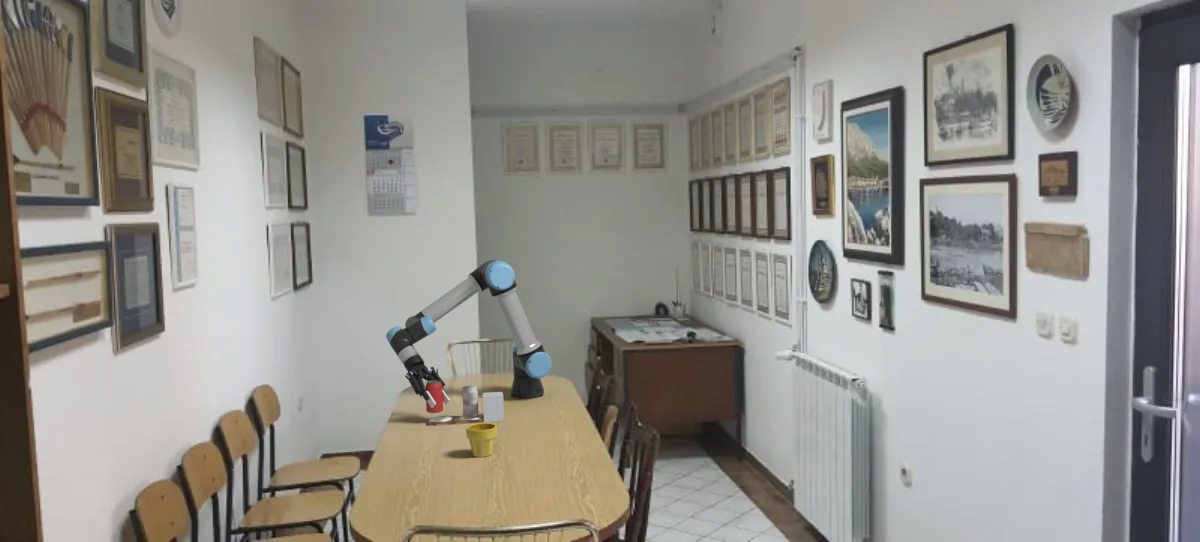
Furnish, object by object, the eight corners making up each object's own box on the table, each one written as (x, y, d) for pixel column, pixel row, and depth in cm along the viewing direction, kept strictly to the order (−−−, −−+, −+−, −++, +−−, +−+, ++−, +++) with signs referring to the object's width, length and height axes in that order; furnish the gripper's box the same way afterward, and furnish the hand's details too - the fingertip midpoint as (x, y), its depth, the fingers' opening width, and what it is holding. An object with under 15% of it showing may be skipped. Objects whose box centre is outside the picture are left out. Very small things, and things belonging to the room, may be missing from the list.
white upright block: (503, 416, 350) (502, 391, 349) (504, 420, 342) (503, 395, 341) (483, 417, 348) (482, 392, 348) (483, 422, 341) (482, 397, 340)
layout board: (482, 417, 349) (481, 384, 348) (482, 422, 340) (481, 388, 339) (429, 420, 346) (428, 387, 345) (428, 425, 337) (426, 392, 336)
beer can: (445, 409, 346) (444, 379, 345) (440, 413, 339) (439, 383, 338) (429, 409, 346) (428, 380, 346) (424, 413, 340) (423, 383, 339)
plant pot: (469, 460, 288) (468, 431, 287) (465, 452, 298) (464, 424, 297) (500, 457, 290) (498, 428, 290) (495, 449, 300) (494, 421, 300)
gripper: (425, 362, 359) (454, 405, 350) (388, 369, 343) (417, 414, 334) (433, 350, 355) (463, 393, 346) (396, 357, 340) (426, 402, 331)
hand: (440, 403), depth 340 cm, fingers closed on beer can, 6 cm apart
